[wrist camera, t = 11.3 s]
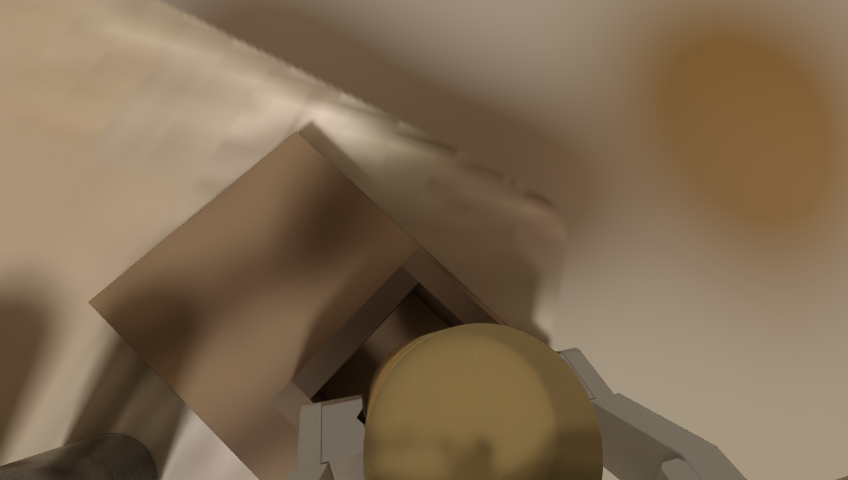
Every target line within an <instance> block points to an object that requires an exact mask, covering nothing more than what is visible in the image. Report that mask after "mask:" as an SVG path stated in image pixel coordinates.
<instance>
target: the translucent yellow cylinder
mask: <svg viewBox="0 0 848 480" xmlns="http://www.w3.org/2000/svg"><path fill="white" fill-rule="evenodd" d="M363 468H364V479H365V480H602V473H603V450H602V440H601V434H600V429H599V424H598V420H597V417H596V414H595V411H594V408H593V405H592V403H591V401H590V399H589V396H588V394H587V392H586V390H585V388H584V387H583V385H582V383H581V382H580V380H579V378H578V377H577V375H576V374H575V373H574V371H573V370H572V369H571V368H570V366H569V365H568V364H567V363H566V362H565V361H564V360H563V359H562V358H561V357H560V356H559V355H558V354H557V353H556V352H555V351H554V350H552V349H551V348H550V347H549V346H547V345H546V344H545V343H543V342H542V341H540V340H538V339H537V338H535V337H534V336H532V335H529V334H527V333H525V332H523V331H521V330H518V329H515V328H511V327H508V326H504V325H498V324H492V323H473V324H464V325H459V326H455V327H451V328H447V329H444V330H440V331H437V332H433V333H429V334H426V335H422V336H419V337H415V338H412V339H409V340H406V341H404V342H402V343H400V344H399V345H397V346H396V347H394V348H393V349H392V350H390V351H389V352H388V353H387V354H386V355H385V357H384V358H383V359H382V360H381V362H380V363H379V365H378V367H377V368H376V370H375V373H374V375H373V378H372V381H371V384H370V390H369V398H368V407H367V416H366V425H365V434H364V446H363Z"/></svg>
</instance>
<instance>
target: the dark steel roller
mask: <svg viewBox="0 0 848 480" xmlns="http://www.w3.org/2000/svg"><path fill="white" fill-rule="evenodd" d="M0 480H157V471H156V466H155V463H154V460H153V457H152V456H151V454H150V452H149V451H148V449H147V448H146V447H145V446H144V445H143V444H142V443H141V442H139V441H138V440H136V439H135V438H132V437H130V436H127V435H124V434H117V433H108V434H101V435H97V436H93V437H90V438H87V439H84V440H81V441H78V442H75V443H71V444H68V445H65V446H62V447H59V448H56V449H53V450H50V451H46V452H43V453H40V454H37V455H34V456H31V457H28V458H24V459H21V460H18V461H15V462H12V463H9V464H6V465H3V466H0Z"/></svg>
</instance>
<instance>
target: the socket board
mask: <svg viewBox="0 0 848 480" xmlns="http://www.w3.org/2000/svg"><path fill="white" fill-rule="evenodd" d="M89 304H90V305H91V306H92V307H93V308H94V309H95V310H96V311H97V312H98V313H99V314H100V315H101V316H102V317H103V318H104V319H105V320H106V321H107V322H108V323H109V324H110V325H111V326H112V327H113V328H114V329H115V330H116V331H117V333H118V334H119V335H120V336H121V337H122V338H123V339H124V340H125V341H126V342H127V343H128V344H129V345H130V346H131V347H132V348H133V349H134V350H135V351H136V352H137V353H138V354H139V355H140V356H141V357H142V358H143V359H144V360H145V362H146V363H147V364H148V365H149V366H150V367H151V368H152V369H153V370H154V371H155V372H156V373H157V374H158V375H159V376H160V377H161V378H162V379H163V380H164V381H165V382H166V383H167V384H168V385H169V386H170V387H171V388H172V389H173V391H174V392H175V393H176V394H177V395H178V396H179V397H180V398H181V399H182V400H183V401H184V402H185V403H186V404H187V405H188V406H189V407H190V408H191V409H192V410H193V411H194V412H195V413H196V414H197V415H198V416H199V417H200V419H201V420H202V421H203V422H204V423H205V424H206V425H207V426H208V427H209V428H210V429H211V430H212V431H213V432H214V433H215V434H216V435H217V436H218V437H219V438H220V439H221V440H222V441H223V442H224V443H225V444H226V445H227V446H228V448H229V449H230V450H231V451H232V452H233V453H234V454H235V455H236V456H237V457H238V458H239V459H240V460H241V461H242V462H243V463H244V464H245V465H246V466H247V467H248V468H249V469H250V470H251V471H252V472H253V473H254V474H255V475H256V477H257V478H258V479H259V480H286V478H287V476H288V475H289V473H290V472H291V471H295V470H297V457H298V439H299V421H300V411H301V407H302V406H304V405H309V404H314V403H319V402H323V401H329V400H334V399H339V398H345V397H350V396H355V395H361V394H362V398H363V402H364V411H365V414H366V416H367V407H368V398H369V390H370V384H371V381H372V378H373V375H374V373H375V370H376V368H377V367H378V365H379V363H380V362H381V360H382V359H383V358H384V357H385V355H386V354H387V353H388V352H389V351H390V350H392V349H393V348H394V347H396V346H397V345H399V344H400V343H402V342H404V341H406V340H409V339H412V338H415V337H419V336H422V335H426V334H429V333H433V332H437V331H440V330H444V329H447V328H451V327H455V326H459V325H464V324H473V323H492V324H498V325H504V326H508V325H507V324H506V323H505V322H504V321H502V320H501V319H500V318H499V317H498V316H497V315H496V314H495V313H494V312H493V311H492V310H490V309H489V308H488V307H487V306H486V305H485V304H484V303H483V302H482V301H481V300H480V299H478V298H477V297H476V296H475V295H474V294H473V293H472V292H471V291H470V290H469V289H468V288H466V287H465V286H464V285H463V284H462V283H461V282H460V281H459V280H458V279H457V278H456V277H454V276H453V275H452V274H451V273H450V272H449V271H448V270H447V269H446V268H445V267H444V266H443V265H441V264H440V263H439V262H438V261H437V260H436V259H435V258H434V257H433V256H432V255H431V254H429V253H428V252H427V251H426V250H425V249H424V248H423V247H422V246H421V245H420V244H419V243H417V242H416V241H415V240H414V239H413V238H412V237H411V236H410V235H409V234H408V233H407V232H405V231H404V230H403V229H402V228H401V227H400V226H399V225H398V224H397V223H396V222H395V221H393V220H392V219H391V218H390V217H389V216H388V215H387V214H386V213H385V212H384V211H383V210H381V209H380V208H379V207H378V206H377V205H376V204H375V203H374V202H373V201H372V200H371V199H370V198H368V197H367V196H366V195H365V194H364V193H363V192H362V191H361V190H360V189H359V188H358V187H356V186H355V185H354V184H353V183H352V182H351V181H350V180H349V179H348V178H347V177H346V176H344V175H343V174H342V173H341V172H340V171H339V170H338V169H337V168H336V167H335V166H334V165H332V164H331V163H330V162H329V161H328V160H327V159H326V158H325V157H324V156H323V155H322V154H320V153H319V152H318V151H317V150H316V149H315V148H314V147H313V146H312V145H311V144H310V143H309V142H307V141H306V140H305V139H304V138H303V137H302V136H301V135H300V134H299V133H298V132H297V131H296V132H295V133H294V134H293V135H292V136H290V137H289V138H288V139H287V140H285V141H284V142H283V143H282V144H281V145H279V146H278V147H277V148H276V149H274V150H273V151H272V152H271V153H270V154H268V155H267V156H266V157H265V158H263V159H262V160H261V161H260V162H259V163H257V164H256V165H255V166H254V167H252V168H251V169H250V170H249V171H248V172H246V173H245V174H244V175H243V176H241V177H240V178H239V179H238V180H237V181H235V182H234V183H233V184H232V185H230V186H229V187H228V188H227V189H226V190H224V191H223V192H222V193H221V194H220V195H218V196H217V197H216V198H215V199H213V200H212V201H211V202H210V203H209V204H207V205H206V206H205V207H204V208H202V209H201V210H200V211H199V212H198V213H196V214H195V215H194V216H193V217H191V218H190V219H189V220H188V221H187V222H185V223H184V224H183V225H182V226H180V227H179V228H178V229H177V230H176V231H174V232H173V233H172V234H171V235H169V236H168V237H167V238H166V239H165V240H163V241H162V242H161V243H160V244H158V245H157V246H156V247H155V248H154V249H152V250H151V251H150V252H149V253H147V254H146V255H145V256H144V257H143V258H141V259H140V260H139V261H138V262H136V263H135V264H134V265H133V266H132V267H130V268H129V269H128V270H127V271H126V272H124V273H123V274H122V275H121V276H119V277H118V278H117V279H116V280H115V281H113V282H112V283H111V284H110V285H108V286H107V287H106V288H105V289H104V290H102V291H101V292H100V293H99V294H97V295H96V296H95V297H94V298H93V299H91V300H90V301H89ZM508 327H509V326H508Z"/></svg>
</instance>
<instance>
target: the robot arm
mask: <svg viewBox="0 0 848 480" xmlns="http://www.w3.org/2000/svg"><path fill="white" fill-rule="evenodd" d="M556 353H557V354H558V355H559V356H560V357H561V358H562V359H563V360H564V361H565V362H566V363H567V364H568V365H569V366H570V368H571V369H572V370H573V371H574V373H575V374H576V375H577V377H578V378H579V380H580V382H581V383H582V385H583V387H584V388H585V390H586V392H587V394H588V396H589V399H590V401H591V403H592V405H593V408H594V411H595V414H596V417H597V420H598V424H599V429H600V434H601V440H602V450H603V467H605V468H606V469H607V470H608V471H610V472H611V473H612V474H613V475H615V476H616V477H617V478H618V479H620V480H747V479H746V478H745V477H744V476H743V475H742V474H741V473H740V472H739V470H738V469H737V468H736V467H735V466H734V465H733V464H732V463H731V462H730V461H729V459H728V458H727V457H726V456H725V455H724V454H723V453H722V452H721V451H720V449H719V448H718V447H717V446H715V445H713V444H712V443H710V442H708V441H706V440H704V439H702V438H700V437H699V436H697V435H695V434H693V433H691V432H689V431H688V430H686V429H684V428H682V427H680V426H678V425H676V424H675V423H673V422H671V421H669V420H667V419H665V418H664V417H662V416H660V415H658V414H656V413H654V412H653V411H651V410H649V409H647V408H645V407H643V406H642V405H640V404H638V403H636V402H634V401H632V400H631V399H629V398H627V397H625V396H623V395H621V394H620V393H618V394H613V392H612V391H611V390H610V388H609V387H608V386H607V385H606V383H605V382H604V381H603V379H602V378H601V377H600V376H599V374H598V373H597V372H596V370H595V369H594V368H593V366H592V365H591V364H590V363H589V361H588V360H587V359H586V357H585V356H584V355H583V354H582V352H581V351H580V350H579V349H577V348H572V349H567V350H563V351H559V352H557V351H556ZM365 425H366V414H365V411H364V402H363V398H362V394H361V395H355V396H350V397H345V398H339V399H334V400H329V401H323V402H319V403H314V404H309V405H304V406H302V407H301V411H300V421H299V439H298V457H297V470H295V471H291V472H290V473H289V475H288V476H287V478H286V480H365V479H364V468H363V446H364V434H365ZM836 480H848V476H846V477H843V478H839V479H836Z"/></svg>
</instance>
